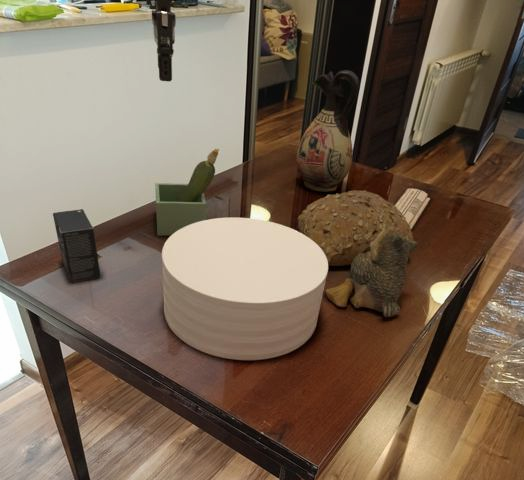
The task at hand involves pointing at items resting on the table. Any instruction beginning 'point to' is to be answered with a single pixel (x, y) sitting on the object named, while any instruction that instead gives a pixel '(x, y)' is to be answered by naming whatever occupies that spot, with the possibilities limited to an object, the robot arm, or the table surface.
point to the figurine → (377, 275)
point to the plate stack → (242, 287)
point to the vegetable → (200, 179)
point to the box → (77, 245)
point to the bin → (176, 208)
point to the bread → (350, 223)
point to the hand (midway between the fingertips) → (164, 75)
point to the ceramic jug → (328, 136)
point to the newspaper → (412, 204)
